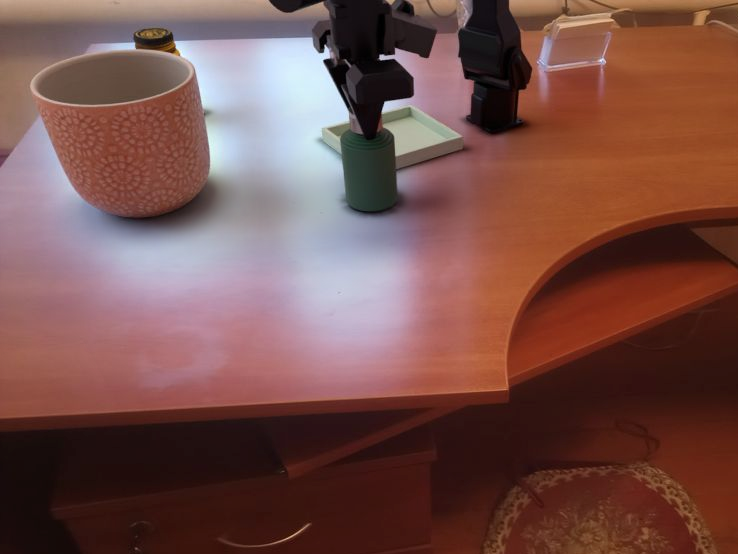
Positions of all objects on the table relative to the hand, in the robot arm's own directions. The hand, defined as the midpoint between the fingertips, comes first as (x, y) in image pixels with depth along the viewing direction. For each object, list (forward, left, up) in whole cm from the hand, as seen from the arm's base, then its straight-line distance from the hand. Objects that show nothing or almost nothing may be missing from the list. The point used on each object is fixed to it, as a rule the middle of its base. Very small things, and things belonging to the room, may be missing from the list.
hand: (365, 132), depth 85 cm
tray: (-11, -12, -9) cm, 19 cm away
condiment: (+12, -38, -9) cm, 41 cm away
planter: (+22, -16, -9) cm, 29 cm away
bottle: (0, 0, -9) cm, 9 cm away
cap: (0, 0, +2) cm, 2 cm away
